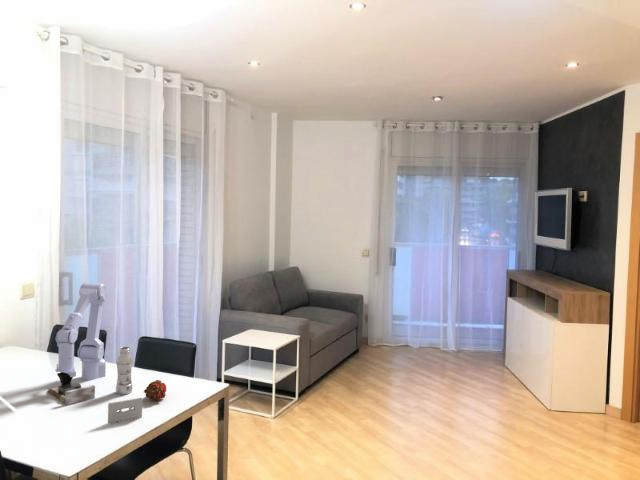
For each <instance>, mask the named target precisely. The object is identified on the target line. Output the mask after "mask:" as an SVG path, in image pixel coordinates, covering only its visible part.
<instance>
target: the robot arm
mask: <svg viewBox="0 0 640 480" xmlns="http://www.w3.org/2000/svg"><path fill="white" fill-rule="evenodd" d="M107 292H108V289H107V287H106V285H105V284H104V283H92V282H91V283H89V282H83V283H81V285H80V287H79V290H78V293H79V294H78V295H79V298H78V301H77V302H76V303H77V304H76V305H75V308H74V311H73V312H72V313H70V314H69V315H68V317H67V318H66V321H65V322H64V325H63V326H62V328H61V329H59V330H58V331H57V333H56V334H55V335H56V336H55V342H56V346H57V348H58V361H57V362H58V364H56V368H55V372H56V375H57V376H58V378H59V381H60V386H61V385H65V384H70V383H72V380H73V379H74V377H76V376H77V372H76V370H75V369H76V368H75V342H76V341H77V340H78V335H79V328H80V327H81V325H82V322H83V320H84V317H83V314H84V312H85V311H86V310H87V308H88V306H89V305H90V307H89V308H90V309H89V315H88V322H87V329H86V330H87V331H86V338H84V339H83V340H82V341H80V343H79V347H78V349H77V357H78V358H79V359H80V362H81V379H82V380H84V381H92V380H97V379H101V378H106V369H107V367H106V366H107V364H106V360H105V359H104V358H103V357H104V355H105V349H104V347H105V346H104V345H105V343H104V342H103V341H101V339H99V338H100V330H101V324H102V317H103V315H102V314H103V307H104V303H105V302H106V300H107Z"/></svg>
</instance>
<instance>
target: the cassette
mask: <svg viewBox="0 0 640 480" xmlns="http://www.w3.org/2000/svg"><path fill="white" fill-rule="evenodd" d="M124 409H127V410H124ZM142 417H143V398H142V397H135V398H130V399H125V400H119V401H112V402H108V404H107V423H108V425H111V424H119V423H122V422H123V423H125V422H128V421H129V422H130V421H133V420H139V419H142Z"/></svg>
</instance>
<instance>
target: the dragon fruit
mask: <svg viewBox="0 0 640 480" xmlns="http://www.w3.org/2000/svg"><path fill="white" fill-rule="evenodd" d="M166 392H167V385H166V383H164V382H162V381H161V380H160V379H156V380H154V381H151V382H150V383H148V386H147V387H146V388H145V389H144V390H143V393H145V397H146V398H147V399H149V400H152V401H154V402H158V401H159V400H160V399H161V400H162V399H164V398H165V397H166Z"/></svg>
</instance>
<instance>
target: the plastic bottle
mask: <svg viewBox="0 0 640 480" xmlns="http://www.w3.org/2000/svg"><path fill="white" fill-rule="evenodd" d="M119 349H120V350H119V356H117V358H116V368H117V369H116V371H117V379H116V386H115V392H116V394H117V396H118V395H119V396H125V395H128V394H130V393H132V392H133V382H132V367H133V361H134V360H133V357H132V355H131V354H130V347H129V346H123V347H120V348H119Z"/></svg>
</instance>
